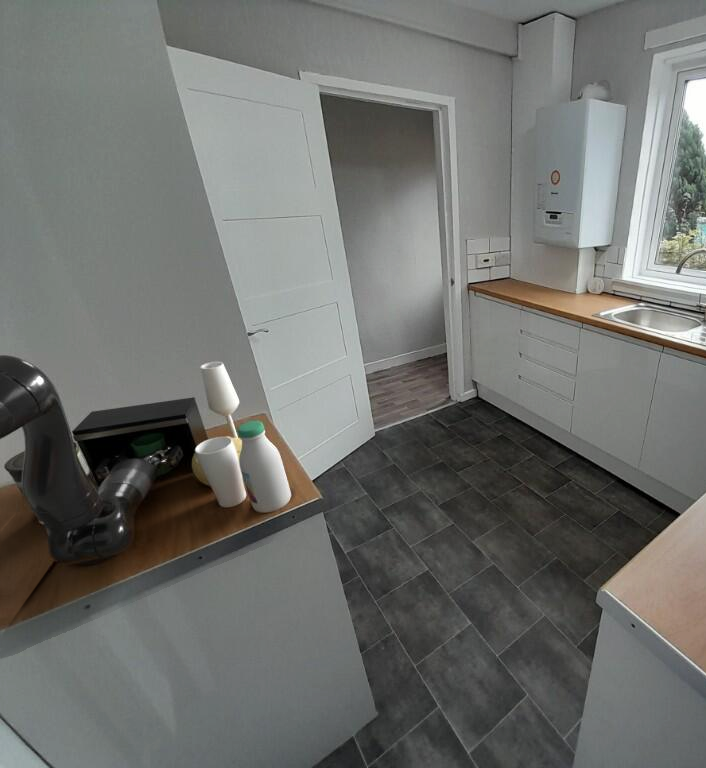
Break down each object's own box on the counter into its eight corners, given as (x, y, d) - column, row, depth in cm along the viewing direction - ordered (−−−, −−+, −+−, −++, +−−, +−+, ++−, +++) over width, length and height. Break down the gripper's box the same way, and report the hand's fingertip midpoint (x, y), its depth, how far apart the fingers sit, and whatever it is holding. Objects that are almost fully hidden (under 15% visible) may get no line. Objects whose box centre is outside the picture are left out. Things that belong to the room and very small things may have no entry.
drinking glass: (208, 506, 90) (186, 449, 84) (237, 487, 96) (218, 433, 90) (229, 514, 88) (208, 457, 82) (257, 495, 94) (240, 440, 87)
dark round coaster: (64, 571, 74) (61, 567, 73) (83, 541, 80) (81, 537, 80) (120, 557, 77) (118, 553, 77) (134, 529, 84) (133, 525, 83)
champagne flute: (256, 443, 114) (233, 363, 103) (231, 455, 108) (203, 372, 98) (243, 436, 117) (219, 358, 106) (218, 447, 111) (190, 366, 101)
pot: (140, 480, 98) (126, 448, 94) (148, 466, 103) (135, 436, 99) (172, 474, 100) (160, 443, 97) (178, 460, 105) (167, 430, 102)
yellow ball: (216, 500, 92) (202, 461, 88) (189, 482, 98) (174, 444, 93) (266, 473, 101) (255, 436, 97) (238, 458, 107) (227, 422, 102)
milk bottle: (296, 488, 96) (276, 415, 87) (285, 511, 89) (263, 434, 80) (260, 492, 95) (237, 417, 86) (247, 515, 88) (220, 437, 79)
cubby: (99, 492, 94) (70, 432, 87) (116, 468, 102) (91, 411, 96) (204, 471, 102) (184, 415, 95) (211, 450, 110) (194, 397, 104)
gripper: (163, 462, 87) (182, 427, 100) (74, 478, 81) (106, 439, 95) (174, 490, 90) (191, 452, 103) (89, 508, 84) (118, 466, 98)
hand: (150, 446), depth 99 cm, fingers open, 8 cm apart
